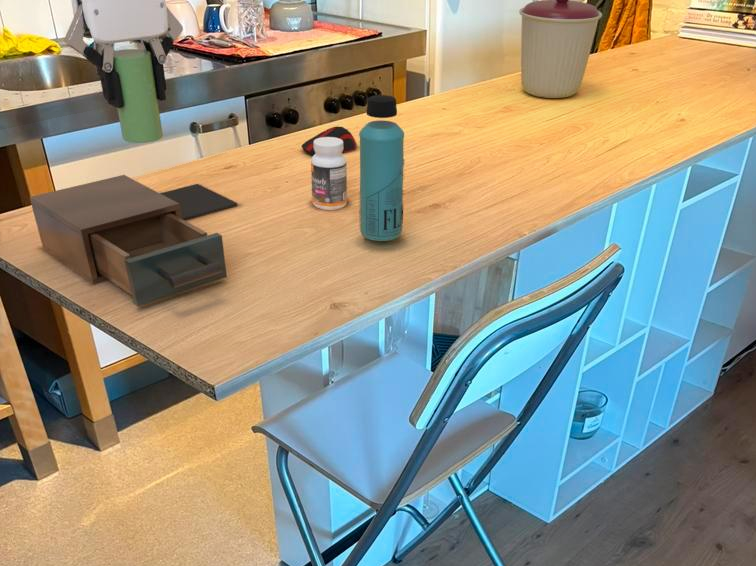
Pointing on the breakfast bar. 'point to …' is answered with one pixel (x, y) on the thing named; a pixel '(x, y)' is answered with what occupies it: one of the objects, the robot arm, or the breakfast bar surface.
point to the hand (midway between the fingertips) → (136, 100)
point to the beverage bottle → (381, 172)
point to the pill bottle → (329, 174)
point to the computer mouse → (335, 132)
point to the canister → (556, 46)
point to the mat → (198, 201)
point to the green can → (137, 96)
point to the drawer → (158, 257)
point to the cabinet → (93, 217)
